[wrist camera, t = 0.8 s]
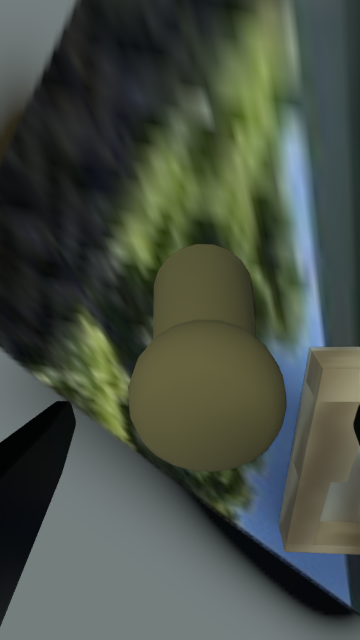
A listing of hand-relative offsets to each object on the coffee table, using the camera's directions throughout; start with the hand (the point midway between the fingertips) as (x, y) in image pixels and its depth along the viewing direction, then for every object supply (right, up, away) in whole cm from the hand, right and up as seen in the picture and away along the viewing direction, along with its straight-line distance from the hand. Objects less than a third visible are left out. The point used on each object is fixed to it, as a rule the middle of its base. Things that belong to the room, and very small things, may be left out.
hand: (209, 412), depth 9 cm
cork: (0, +5, +9) cm, 10 cm away
